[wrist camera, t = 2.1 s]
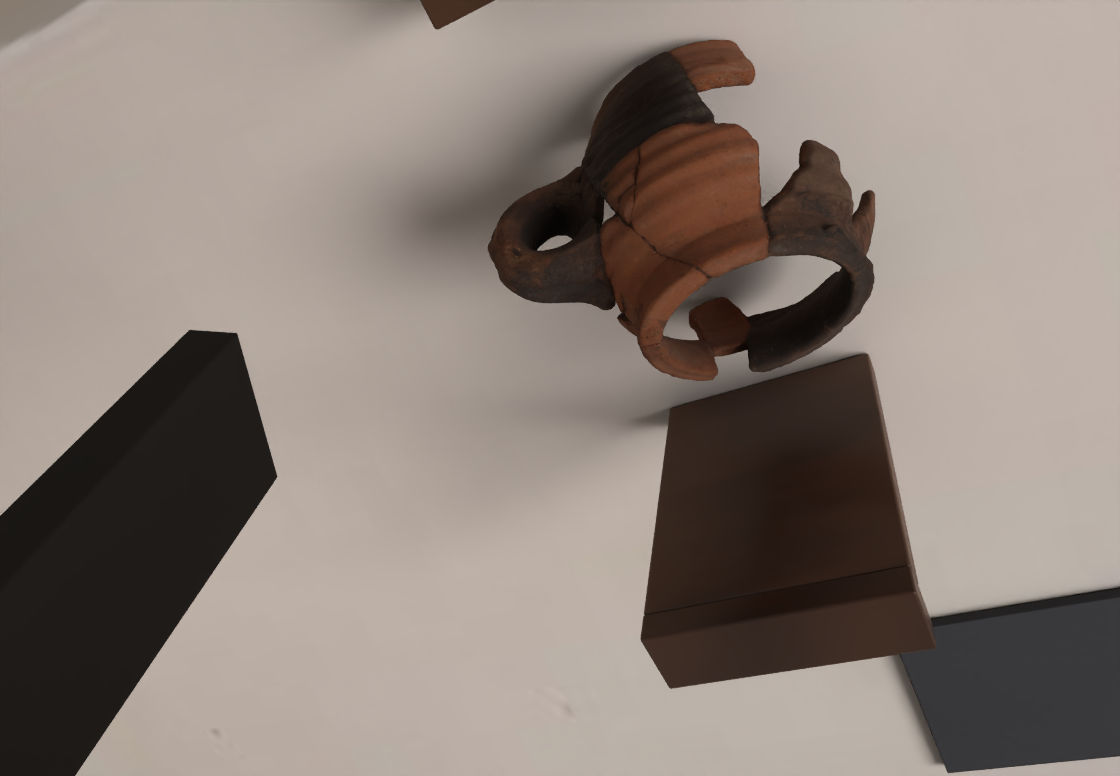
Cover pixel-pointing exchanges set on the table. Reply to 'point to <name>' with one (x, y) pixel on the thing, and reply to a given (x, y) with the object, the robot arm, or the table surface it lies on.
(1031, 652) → the mat
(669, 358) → the pottery mug
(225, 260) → the table surface
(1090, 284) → the table surface
